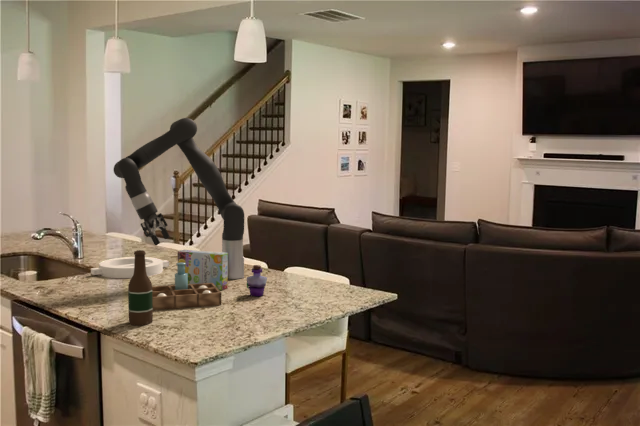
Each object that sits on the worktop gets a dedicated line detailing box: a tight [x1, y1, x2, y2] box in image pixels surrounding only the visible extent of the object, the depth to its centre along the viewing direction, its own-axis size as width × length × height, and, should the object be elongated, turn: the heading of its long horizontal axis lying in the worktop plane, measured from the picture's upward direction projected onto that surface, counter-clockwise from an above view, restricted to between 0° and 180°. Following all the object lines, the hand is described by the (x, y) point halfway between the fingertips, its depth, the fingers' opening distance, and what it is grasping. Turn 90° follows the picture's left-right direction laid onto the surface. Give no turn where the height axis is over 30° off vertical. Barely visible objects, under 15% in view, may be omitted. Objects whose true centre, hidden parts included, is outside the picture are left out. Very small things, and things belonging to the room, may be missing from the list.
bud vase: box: [174, 262, 188, 290], centre depth 228 cm, size 5×5×13 cm
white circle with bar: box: [90, 256, 170, 279], centre depth 277 cm, size 28×28×5 cm
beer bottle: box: [127, 249, 154, 327], centre depth 196 cm, size 8×8×24 cm
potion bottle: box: [246, 264, 268, 298], centre depth 236 cm, size 9×9×12 cm
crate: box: [152, 283, 222, 311], centre depth 225 cm, size 25×17×5 cm
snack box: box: [177, 249, 229, 291], centre depth 248 cm, size 21×6×15 cm, turn 71°
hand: (162, 241), depth 242 cm, fingers open, 8 cm apart
